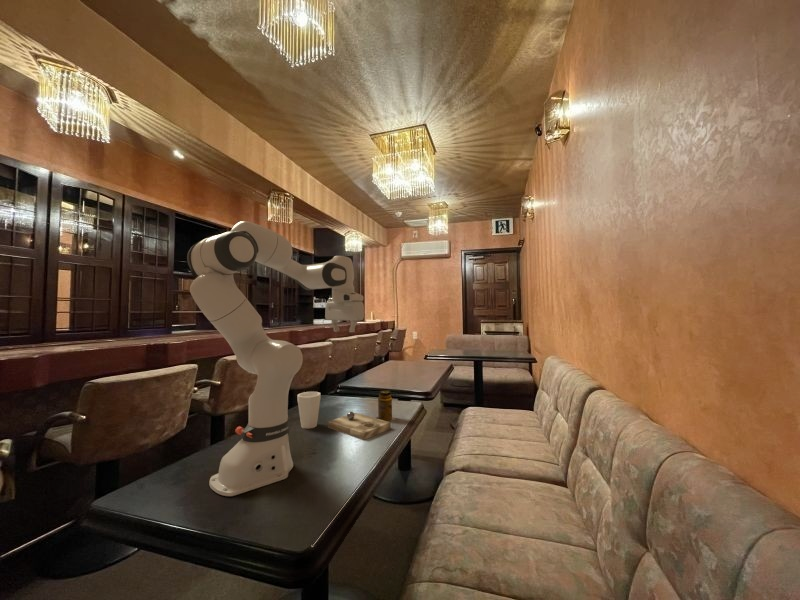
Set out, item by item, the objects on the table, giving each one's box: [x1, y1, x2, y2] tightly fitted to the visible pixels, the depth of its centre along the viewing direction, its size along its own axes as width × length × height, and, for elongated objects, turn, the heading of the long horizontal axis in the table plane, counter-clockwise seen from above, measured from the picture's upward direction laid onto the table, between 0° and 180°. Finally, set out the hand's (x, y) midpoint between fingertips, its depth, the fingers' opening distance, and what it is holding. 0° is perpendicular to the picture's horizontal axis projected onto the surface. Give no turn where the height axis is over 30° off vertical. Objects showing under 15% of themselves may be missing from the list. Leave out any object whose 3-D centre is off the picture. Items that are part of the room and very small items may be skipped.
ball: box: [346, 411, 355, 420], centre depth 136 cm, size 3×3×3 cm
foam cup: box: [296, 391, 322, 430], centre depth 137 cm, size 10×9×13 cm
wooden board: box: [327, 412, 392, 441], centre depth 133 cm, size 15×21×2 cm
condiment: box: [376, 390, 396, 422], centre depth 144 cm, size 7×8×12 cm
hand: (344, 331), depth 130 cm, fingers open, 8 cm apart
